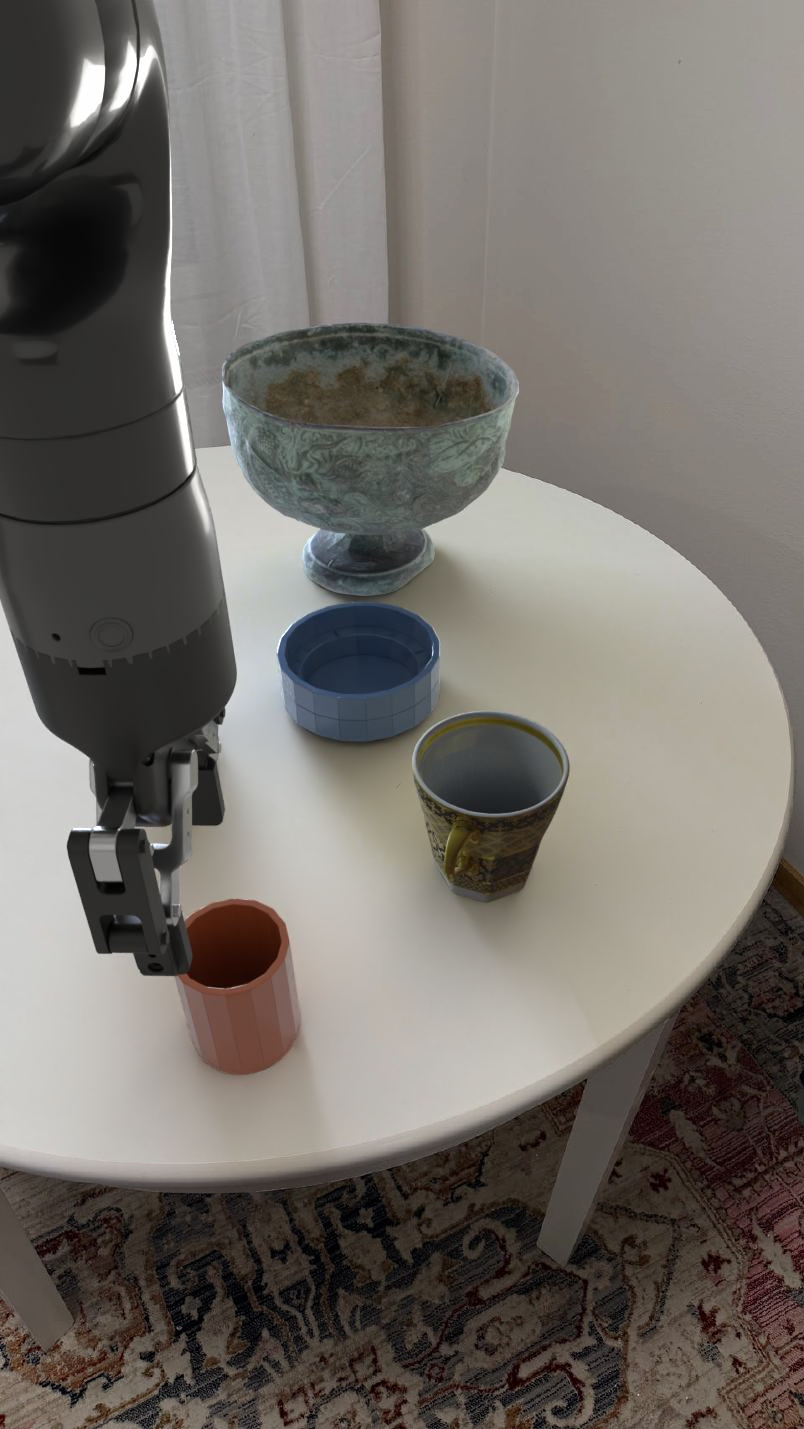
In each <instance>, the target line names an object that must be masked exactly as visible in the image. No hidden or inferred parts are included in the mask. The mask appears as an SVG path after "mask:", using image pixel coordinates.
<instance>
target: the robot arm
mask: <svg viewBox="0 0 804 1429" xmlns="http://www.w3.org/2000/svg"><path fill="white" fill-rule="evenodd" d="M170 110H171V108H170V95H169V82H168V74H167V64H166V58H165V52H164V46H163V38H162V34H161V29H160V24H159V19H158V14H157V9H156V5H155V2H154V0H0V604H1V607H2V610H3V613H4V616H5V620H6V623H7V626H8V629H9V632H10V636H11V638H12V641H13V644H14V648H15V651H16V653H17V658H18V660H19V663H20V667H21V668H22V669H21V670H22V671H23V676H24V678H25V681H26V684H27V688H28V690H29V693H30V696H31V700H32V703H33V705H34V709H35V712H36V714H37V716H38V719H39V720H40V721H41V723H42V724H43V725H44V727H45V728H46V729H47V730H48V731H49V732H50V733H51V734H53V735H54V736H55V737H56V738H58V739H60V740H61V741H62V742H64V743H66V744H68V745H70V746H71V747H73V748H75V749H76V750H77V751H79V752H81V753H82V754H83V755H85V756H86V757H88V759H89V761H88V762H89V763H88V764H89V766H88V767H89V770H88V771H89V777H88V778H89V790H90V791H91V793H92V794H93V795H94V797H95V811H96V812H95V813H96V814H95V817H96V821H95V822H96V823H95V824H96V826H95V827H73V828H72V829H70V831H69V835H68V838H67V841H66V852H67V857H68V861H69V864H70V868H71V871H72V874H73V878H74V881H75V884H76V887H77V888H76V889H77V892H78V895H79V898H80V901H81V905H82V908H83V912H84V915H85V918H86V922H87V925H88V928H89V931H90V932H89V933H90V935H91V939H92V942H93V945H94V949H95V952H96V953H97V954H99V955H112V954H133V958H134V960H135V961H134V962H135V964H136V968H137V969H138V971H139V973H140V974H141V975H142V976H143V977H174V976H177V975H182V974H186V973H188V972H189V970H190V965H191V961H192V956H193V954H192V950H191V946H190V942H189V938H188V934H187V930H186V926H185V917H184V915H183V909H182V904H181V876H180V875H181V867H182V866H183V865H184V864H185V863H186V862H188V861H189V860H190V859H191V858H192V854H193V827H194V826H196V827H197V826H199V827H216V826H220V825H222V823H223V822H224V817H225V813H226V805H225V800H224V795H223V790H222V789H223V788H222V784H221V778H220V773H219V772H220V771H219V768H218V767H219V766H218V762H217V761H218V760H219V757H220V754H221V752H222V744H221V742H220V738H219V726H222V725H223V723H224V720H225V718H226V714H227V712H226V711H227V710H226V706H227V705H228V703H229V701H230V700H231V698H232V696H233V694H234V692H235V688H236V684H237V677H238V670H237V662H236V661H237V660H236V655H235V648H234V642H233V635H232V629H231V621H230V615H229V609H228V602H227V596H226V595H227V594H226V589H225V582H224V577H223V570H222V565H221V557H220V552H219V544H218V538H217V533H216V532H217V531H216V525H215V521H214V516H213V511H212V508H211V504H210V500H209V498H208V495H207V491H206V489H205V486H204V482H203V479H202V476H201V472H200V468H199V462H198V459H197V454H196V453H197V452H196V446H195V441H194V435H193V428H192V422H191V421H192V420H191V415H190V410H189V408H190V407H189V403H188V402H189V401H188V396H187V390H186V384H185V376H184V371H183V370H184V369H183V366H182V365H183V364H182V361H181V357H180V356H181V355H180V351H179V346H178V343H177V340H176V338H177V337H176V335H175V330H174V324H173V314H172V269H173V266H172V265H173V178H172V175H173V172H172V131H171V111H170ZM170 825H171V838H170V842H169V843H153V842H150V841H149V839H148V834H147V831H146V829H145V828H165V827H169V826H170ZM156 870H157V871H158V873H159V883H158V879H157V874H156ZM159 885H160V886H159Z"/></svg>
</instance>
